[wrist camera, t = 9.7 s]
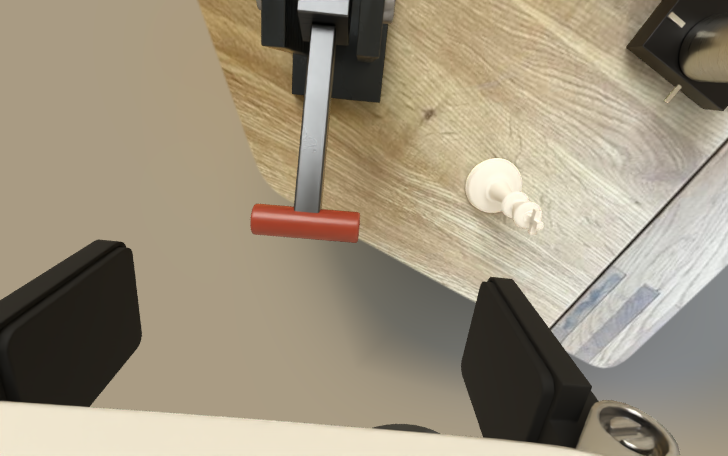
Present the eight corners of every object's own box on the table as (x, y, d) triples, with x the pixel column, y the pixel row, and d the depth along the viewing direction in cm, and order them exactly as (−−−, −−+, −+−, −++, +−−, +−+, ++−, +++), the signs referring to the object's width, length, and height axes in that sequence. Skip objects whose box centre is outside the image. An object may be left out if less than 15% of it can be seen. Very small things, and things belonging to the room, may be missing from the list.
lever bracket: (379, 101, 32) (394, 127, 18) (294, 93, 32) (238, 112, 18) (394, -41, 29) (428, -157, 14) (298, -52, 28) (231, -182, 14)
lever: (356, 243, 18) (358, 242, 16) (258, 235, 18) (245, 233, 16) (377, -8, 19) (382, -45, 16) (283, -18, 19) (274, -58, 16)
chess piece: (460, 209, 36) (495, 257, 27) (470, 155, 34) (511, 187, 25) (513, 213, 36) (566, 262, 27) (526, 160, 34) (587, 193, 25)
